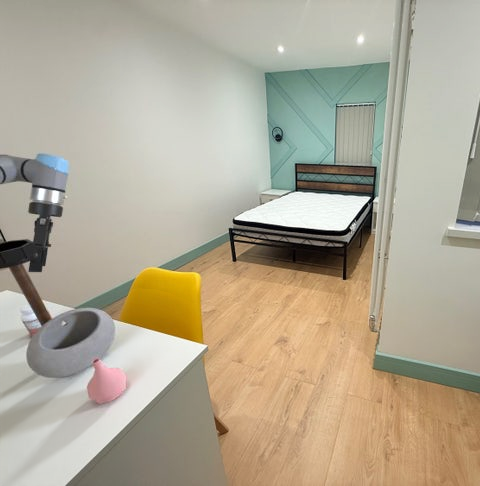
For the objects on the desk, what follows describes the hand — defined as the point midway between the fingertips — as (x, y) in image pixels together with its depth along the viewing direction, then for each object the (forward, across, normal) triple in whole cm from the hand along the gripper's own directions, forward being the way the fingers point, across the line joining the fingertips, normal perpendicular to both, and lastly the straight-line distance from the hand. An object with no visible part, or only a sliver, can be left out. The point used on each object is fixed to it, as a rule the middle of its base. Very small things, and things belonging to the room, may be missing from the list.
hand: (37, 268), depth 84 cm
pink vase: (+26, -40, -19) cm, 51 cm away
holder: (-6, -24, +3) cm, 25 cm away
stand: (+24, -16, -9) cm, 31 cm away
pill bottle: (+22, +3, -4) cm, 23 cm away
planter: (+25, -24, -14) cm, 38 cm away
